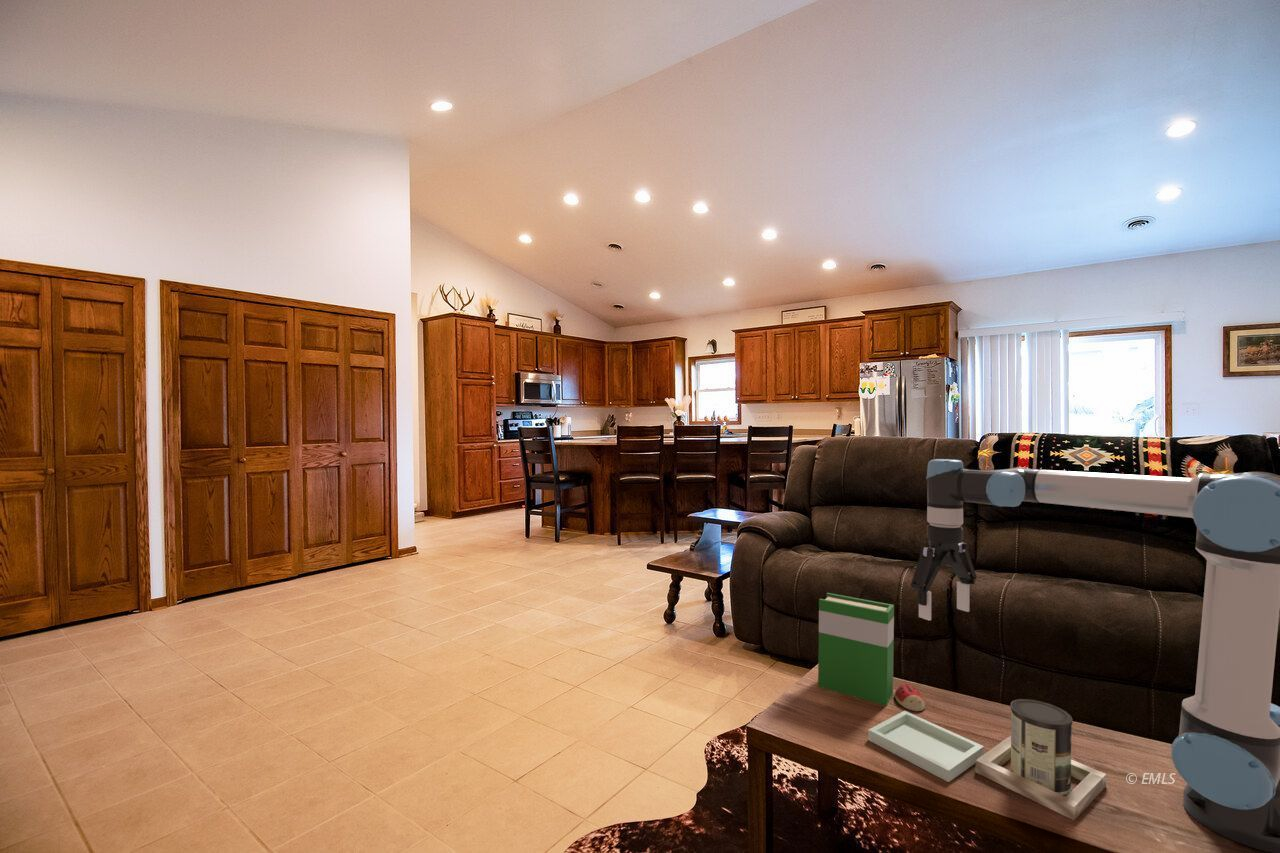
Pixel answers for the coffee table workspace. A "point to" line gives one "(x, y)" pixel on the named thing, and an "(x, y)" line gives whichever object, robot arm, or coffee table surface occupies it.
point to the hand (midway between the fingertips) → (944, 614)
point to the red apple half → (909, 698)
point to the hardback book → (856, 647)
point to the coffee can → (1041, 744)
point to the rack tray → (926, 745)
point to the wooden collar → (1066, 806)
